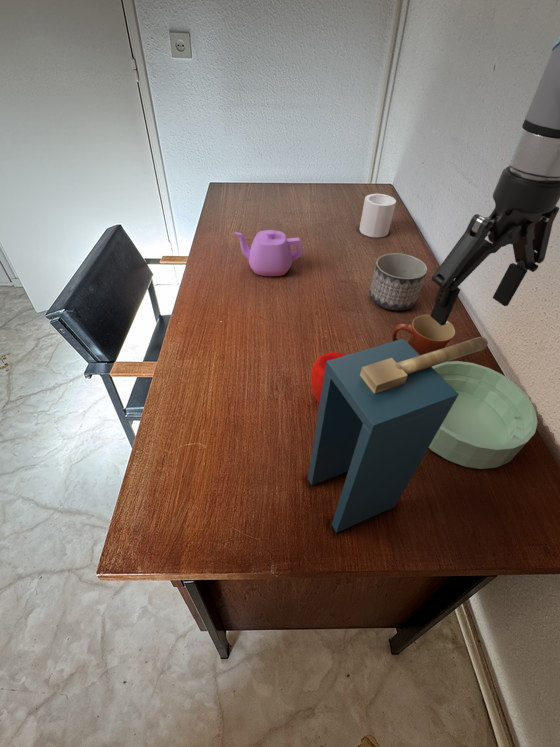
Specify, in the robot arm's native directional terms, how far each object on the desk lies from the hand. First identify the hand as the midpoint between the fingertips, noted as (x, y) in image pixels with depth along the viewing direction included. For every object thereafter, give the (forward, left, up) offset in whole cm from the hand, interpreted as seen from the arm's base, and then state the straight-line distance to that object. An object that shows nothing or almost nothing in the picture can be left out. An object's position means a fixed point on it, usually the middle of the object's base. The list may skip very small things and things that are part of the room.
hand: (469, 310), depth 61 cm
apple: (+7, +20, -22) cm, 30 cm away
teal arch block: (-12, +26, -22) cm, 36 cm away
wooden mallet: (-12, +21, +7) cm, 25 cm away
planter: (+32, -13, -22) cm, 41 cm away
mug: (+10, -3, -22) cm, 24 cm away
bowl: (-8, -1, -22) cm, 23 cm away
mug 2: (+70, -33, -22) cm, 81 cm away
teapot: (+60, +12, -22) cm, 65 cm away
